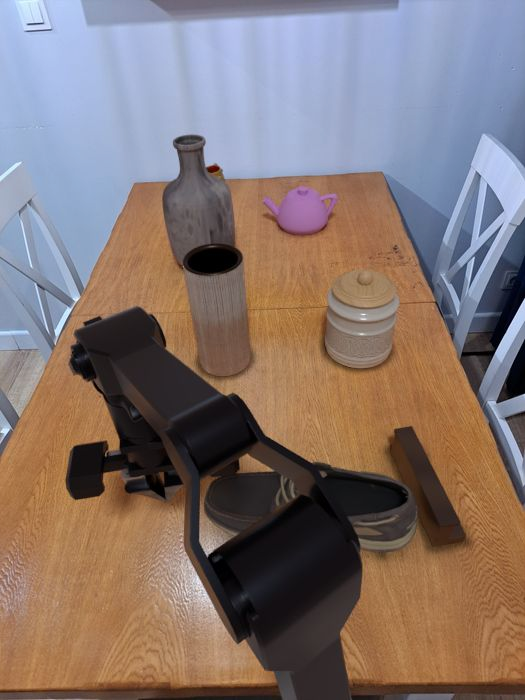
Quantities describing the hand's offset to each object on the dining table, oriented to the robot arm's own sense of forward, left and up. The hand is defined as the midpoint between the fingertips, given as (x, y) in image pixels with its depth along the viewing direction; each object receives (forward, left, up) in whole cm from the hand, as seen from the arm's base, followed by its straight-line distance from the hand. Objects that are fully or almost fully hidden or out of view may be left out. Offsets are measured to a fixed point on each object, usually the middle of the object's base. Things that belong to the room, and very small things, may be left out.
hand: (167, 498), depth 61 cm
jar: (+34, -36, -11) cm, 50 cm away
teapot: (+86, -36, -11) cm, 94 cm away
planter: (+36, -10, -11) cm, 39 cm away
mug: (+118, -16, -11) cm, 119 cm away
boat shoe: (0, -18, -11) cm, 21 cm away
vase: (+72, -9, -11) cm, 73 cm away
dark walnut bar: (+1, -36, -11) cm, 37 cm away
